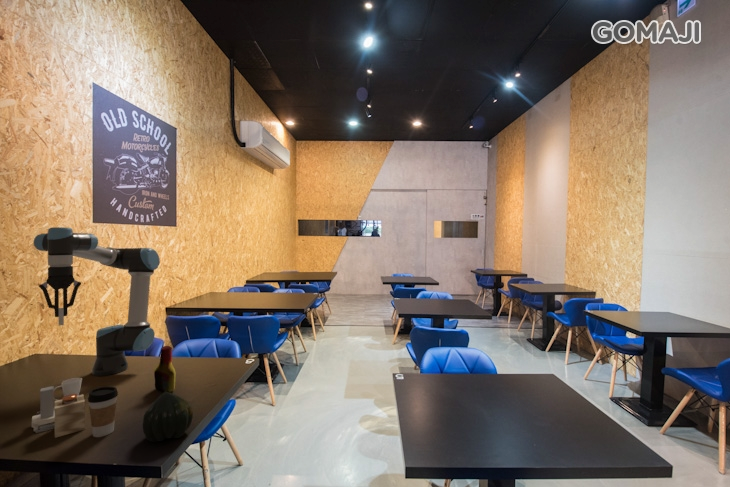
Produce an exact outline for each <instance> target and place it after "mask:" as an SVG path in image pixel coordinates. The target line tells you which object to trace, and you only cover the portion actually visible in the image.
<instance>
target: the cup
mask: <svg viewBox="0 0 730 487" xmlns="http://www.w3.org/2000/svg"><path fill="white" fill-rule="evenodd" d="M82 382H83V378H82V377H72V378H68V379H64V380H62V381H61V385H58V386H55V387H53V388H54V391H55V390H57V389H58V388H62V395H63V397H64V396H66V395H70V394H77V396H78V395H80V392H81V387H82ZM57 400H59V399H57V398H55V397H54V401H57Z"/></svg>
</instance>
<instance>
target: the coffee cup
mask: <svg viewBox="0 0 730 487" xmlns="http://www.w3.org/2000/svg"><path fill="white" fill-rule="evenodd" d="M118 395H119V392H118V389H117V387H116V386H115V387H114V386H100V387H96V388H93V389H91V390H90V391H89V393H88V397H87V401H88V402H87V403H89V408H88V409H89V416H90V421H91V422H90V423H91V424H90V425H91V432H92V437H93V438H102V437H106V436H107V435H111V433H113V432H114V430H115V420H116V412H117V404H118V403H117V397H118Z"/></svg>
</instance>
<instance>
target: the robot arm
mask: <svg viewBox="0 0 730 487" xmlns="http://www.w3.org/2000/svg"><path fill="white" fill-rule="evenodd" d="M73 231H74V230H73V228H71V227H63V226H62V227H56V226H55V227H54V226H53V227H49V228H48V230H47V233H40V234H37V235H36V236H35V237H34V239H33V246H34V248H35V249H36V250H37V251H41V252H47V265H48V267H47V279H46V280H45V282H43V283H41V284H39V285H38V287H39V288H40V290H42V291H43V292H42V293H43V295H44V298H45V300H46V303H47V307H48V308H49V309H53V310H54V317H55V318H58V326H65V324H64V323H65V320H64V318H65V317H68V308H70V307H73V306H74V303H75V300H76V296H77V294H78V290H79V288H80V286H81V285H82V282H81V281H77V280H75V277H74V267H73V263H74V257H76V258H81V259H86V260H89V261H94V262H98V263H99V264H100V265H103V266H107V267H110V268H115V269H118V270H127V273H128V274H129V275H130V289H129V299H128V300H129V302H128V314H127V322H126V323H125V324H115V325H109V326H105V327H102V328H99V329H98V330H97V331H96V336H95V348H96V349H95V350H96V351H95V352H96V357H95V358H96V359H95V361H94V363H93V367H92V370H91V371H92V372H91V374H92V375H93V376H96V377H98V376H99V377H100V376H101V377H102V376H104V377H105V376H110V375H115V374H119V373H121V372H124V371H126V370H127V369H128V368H129V363H128V360H127V358H126V355H125V352H143V351H146V350H147V349H149V348H150V347H151V345H152V344H153V342H154V339H155V330H154V328H152V327H151V323H150V322H149V321H148V312H149V311H148V310H149V298H150V296H149V295H150V284H151V276H152V275H153V274H154V273H155V270H156V269H159V266H160V261H161V260H160V254H158V252H157V250H155V248H150V247H148V248H147V247H137V248H136V247H134V248H133V247H132V248H129V247H126V248H124V247H123V248H117V247H116V248H115V247H108V246H107V247H104V246H99V239H98V237H97V236H96V235H95V234H92V233H89V232H86V233H85V232H83V233H82V232H73ZM71 285H73V286H74V287H73V288H72V292H71V297H70V300H69V302H68V288H70V287H71ZM48 286H50V288H52V289H53V290H54V304H53V302H52V299H51V297H50V294H49V292H48V289H47V288H48ZM59 290H62V306H63V307H60V306H59V304H60V300H59V299H60V298H59V296H60V293H59V292H60V291H59Z"/></svg>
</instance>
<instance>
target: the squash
mask: <svg viewBox="0 0 730 487" xmlns="http://www.w3.org/2000/svg"><path fill="white" fill-rule="evenodd" d="M193 413H194V410H193V408H192V406H191V404H190V402H189V401H188V400H186V399H185V398H183V397H180V396H179V395H177V394H174V393H171V392H162V393H161V394H160V395H159V396H158V397H157V398H156V399H155V400H154V401H153V402H152V403H151V404H150V406H149V407H148V408H147V410H146V411H145V412H144V415H143V421H142V432H143V435H144V436H145V438H146V439H147V440H148V441H150V442H153V443H156V442H163V441H164V440H165V439H170V438H174V439H179V438H180V437H182V436H184V435H185V433H186V431H187V430H188V429H189V428H190V426H191V424H192V421H193V417H194V416H193V415H194V414H193Z"/></svg>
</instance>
